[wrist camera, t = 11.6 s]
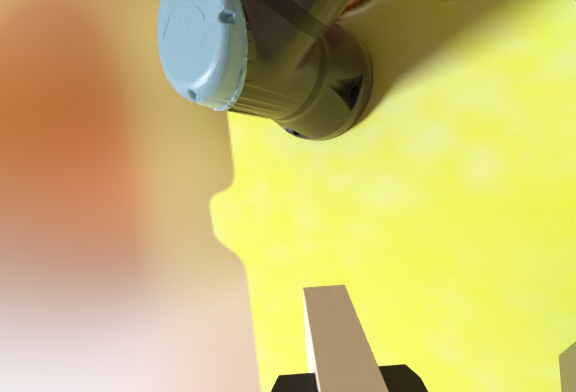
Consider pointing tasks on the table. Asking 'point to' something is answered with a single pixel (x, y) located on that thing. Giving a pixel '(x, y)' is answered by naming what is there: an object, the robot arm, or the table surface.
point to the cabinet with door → (568, 369)
